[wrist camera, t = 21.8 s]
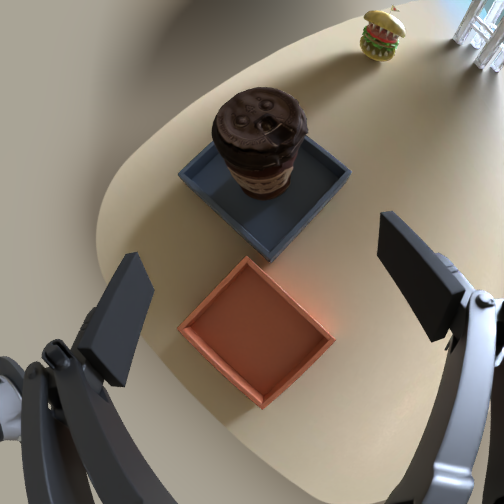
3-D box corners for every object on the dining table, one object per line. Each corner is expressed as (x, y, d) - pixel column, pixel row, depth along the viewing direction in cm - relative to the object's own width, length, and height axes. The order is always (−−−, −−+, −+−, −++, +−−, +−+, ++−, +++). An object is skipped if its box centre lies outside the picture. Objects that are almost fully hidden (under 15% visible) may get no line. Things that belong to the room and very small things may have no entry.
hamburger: (350, 52, 36) (361, 3, 24) (363, 38, 36) (374, -6, 25) (388, 71, 35) (407, 24, 23) (398, 56, 35) (415, 13, 23)
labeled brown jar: (300, 211, 31) (315, 160, 19) (230, 213, 32) (203, 165, 19) (296, 148, 33) (303, 78, 20) (231, 150, 34) (210, 83, 21)
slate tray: (185, 184, 34) (177, 174, 31) (259, 116, 35) (258, 102, 32) (270, 263, 32) (270, 260, 28) (346, 182, 32) (352, 171, 29)
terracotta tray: (185, 325, 31) (176, 328, 28) (249, 259, 32) (246, 255, 29) (263, 399, 29) (262, 410, 26) (330, 335, 30) (336, 339, 27)
